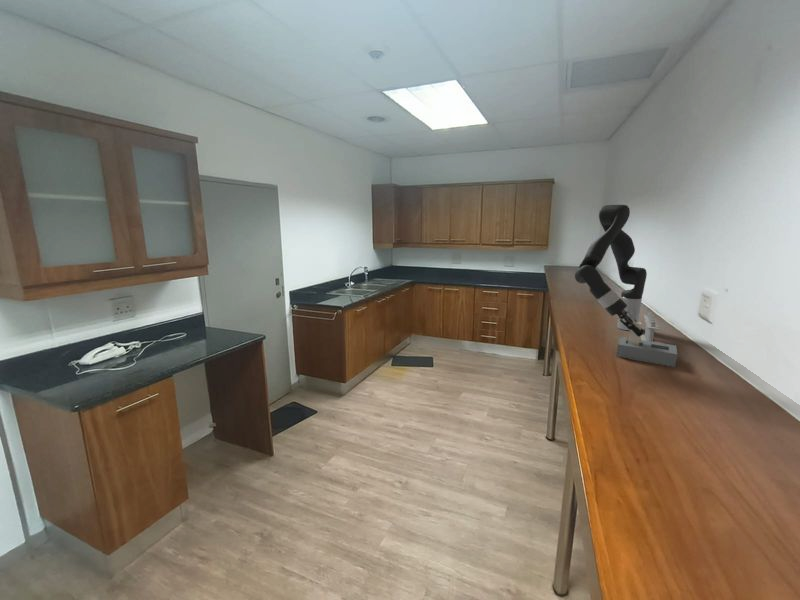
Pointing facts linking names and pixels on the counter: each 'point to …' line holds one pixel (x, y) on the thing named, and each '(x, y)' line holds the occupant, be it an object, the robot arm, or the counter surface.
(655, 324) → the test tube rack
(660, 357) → the grey two-slot holder
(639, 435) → the counter surface
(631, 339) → the cream rectangular block
